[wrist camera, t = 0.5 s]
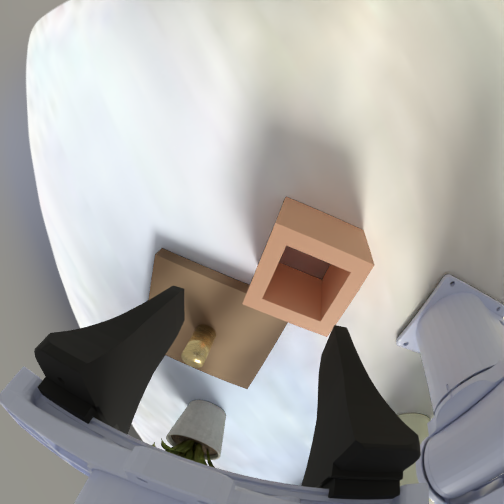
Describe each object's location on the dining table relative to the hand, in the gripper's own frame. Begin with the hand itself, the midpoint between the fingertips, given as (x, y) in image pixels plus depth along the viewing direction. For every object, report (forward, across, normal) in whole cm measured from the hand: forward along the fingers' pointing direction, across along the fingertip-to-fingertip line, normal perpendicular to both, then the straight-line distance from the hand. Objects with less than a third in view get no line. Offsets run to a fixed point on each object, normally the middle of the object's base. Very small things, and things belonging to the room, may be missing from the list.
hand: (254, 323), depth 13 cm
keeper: (+9, +5, +10) cm, 15 cm away
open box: (+9, -2, 0) cm, 10 cm away
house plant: (+10, +6, +26) cm, 28 cm away
